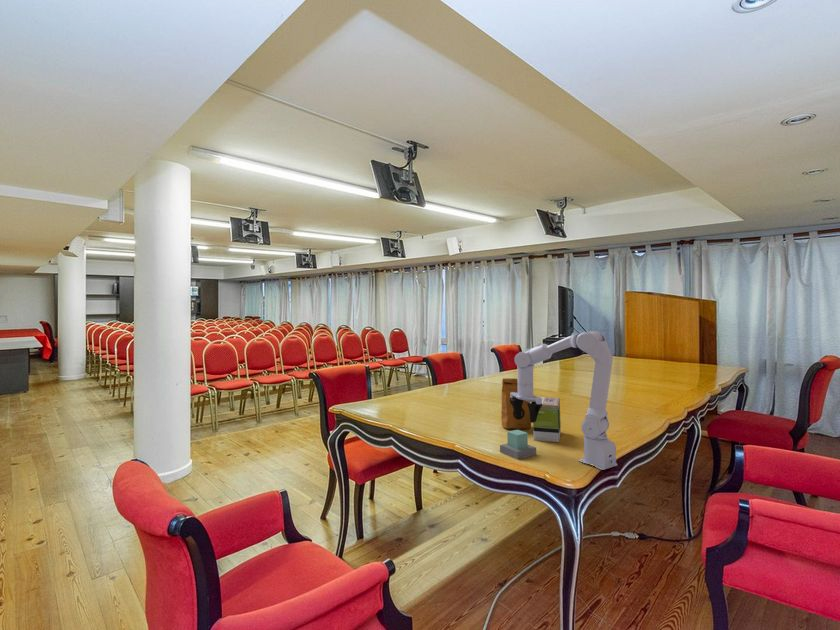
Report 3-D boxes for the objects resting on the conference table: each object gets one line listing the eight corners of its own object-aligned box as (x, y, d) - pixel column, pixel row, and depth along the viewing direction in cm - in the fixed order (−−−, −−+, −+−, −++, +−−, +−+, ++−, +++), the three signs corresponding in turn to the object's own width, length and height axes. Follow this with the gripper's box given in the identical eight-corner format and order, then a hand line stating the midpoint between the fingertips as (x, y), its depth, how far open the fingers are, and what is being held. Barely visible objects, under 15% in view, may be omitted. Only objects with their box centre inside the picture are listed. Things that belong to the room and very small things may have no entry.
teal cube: (527, 446, 147) (527, 432, 147) (517, 449, 144) (517, 435, 144) (517, 443, 151) (517, 429, 151) (507, 445, 149) (507, 431, 149)
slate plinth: (536, 454, 146) (536, 447, 146) (517, 459, 142) (517, 451, 142) (518, 447, 154) (518, 440, 154) (500, 451, 149) (499, 444, 149)
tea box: (536, 430, 177) (536, 395, 177) (561, 432, 173) (560, 397, 173) (532, 440, 163) (532, 403, 163) (559, 442, 159) (559, 404, 159)
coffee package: (533, 430, 176) (532, 379, 176) (504, 430, 176) (503, 379, 176) (527, 424, 186) (527, 376, 186) (500, 424, 186) (499, 376, 186)
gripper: (504, 382, 158) (504, 417, 158) (531, 387, 146) (532, 425, 146) (517, 380, 162) (518, 414, 162) (545, 385, 149) (546, 423, 149)
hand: (525, 419), depth 154 cm, fingers open, 7 cm apart
